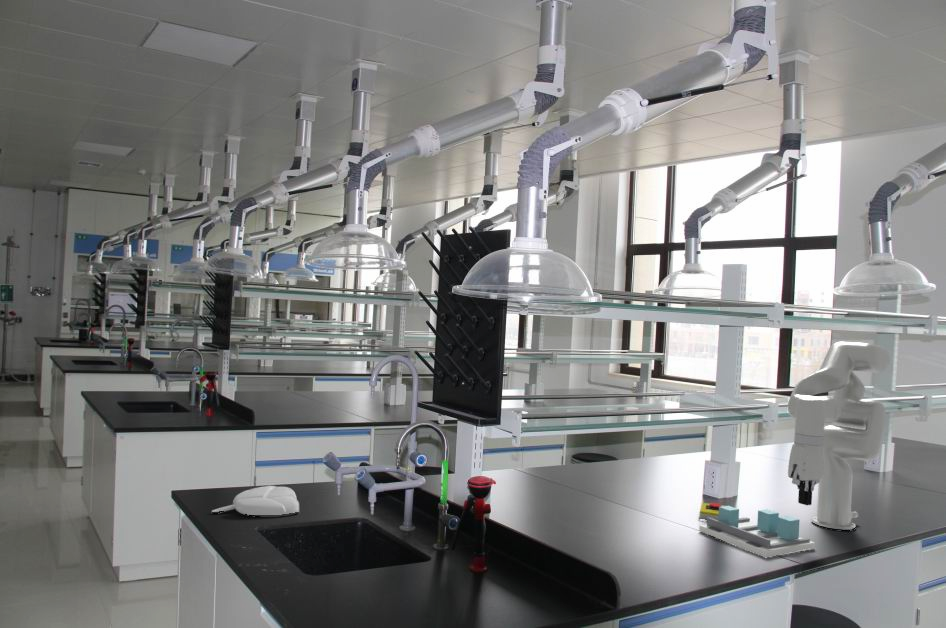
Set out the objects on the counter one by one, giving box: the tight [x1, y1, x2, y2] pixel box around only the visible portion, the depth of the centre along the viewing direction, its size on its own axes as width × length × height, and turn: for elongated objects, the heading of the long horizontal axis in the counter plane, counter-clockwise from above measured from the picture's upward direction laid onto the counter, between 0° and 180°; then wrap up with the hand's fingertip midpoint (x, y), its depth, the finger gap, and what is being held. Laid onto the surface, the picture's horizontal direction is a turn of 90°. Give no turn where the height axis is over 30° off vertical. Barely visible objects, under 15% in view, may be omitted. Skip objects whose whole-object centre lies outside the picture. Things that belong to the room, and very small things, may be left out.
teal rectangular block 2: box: [777, 515, 800, 540], centre depth 205 cm, size 4×4×6 cm
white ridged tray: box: [698, 517, 816, 558], centre depth 209 cm, size 20×24×4 cm
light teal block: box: [757, 508, 780, 533], centre depth 211 cm, size 4×4×6 cm
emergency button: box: [698, 502, 724, 520], centre depth 232 cm, size 9×4×15 cm
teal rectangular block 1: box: [718, 505, 740, 528], centre depth 214 cm, size 4×4×6 cm
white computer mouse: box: [211, 485, 300, 516], centre depth 216 cm, size 7×17×25 cm
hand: (804, 503), depth 208 cm, fingers closed
